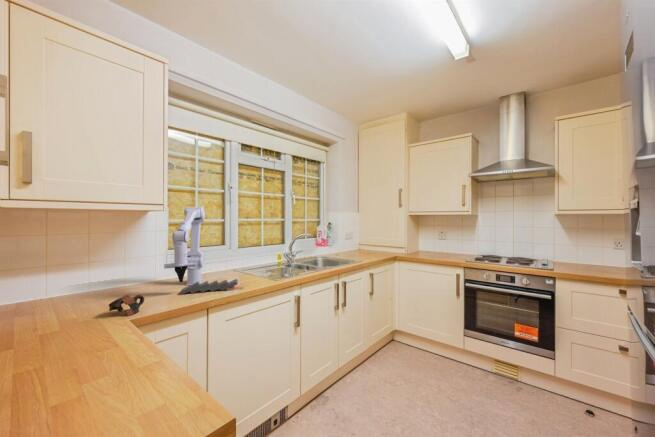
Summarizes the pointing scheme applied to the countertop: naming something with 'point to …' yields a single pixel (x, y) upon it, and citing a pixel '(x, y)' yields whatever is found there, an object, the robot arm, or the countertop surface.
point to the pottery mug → (128, 301)
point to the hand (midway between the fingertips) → (181, 281)
